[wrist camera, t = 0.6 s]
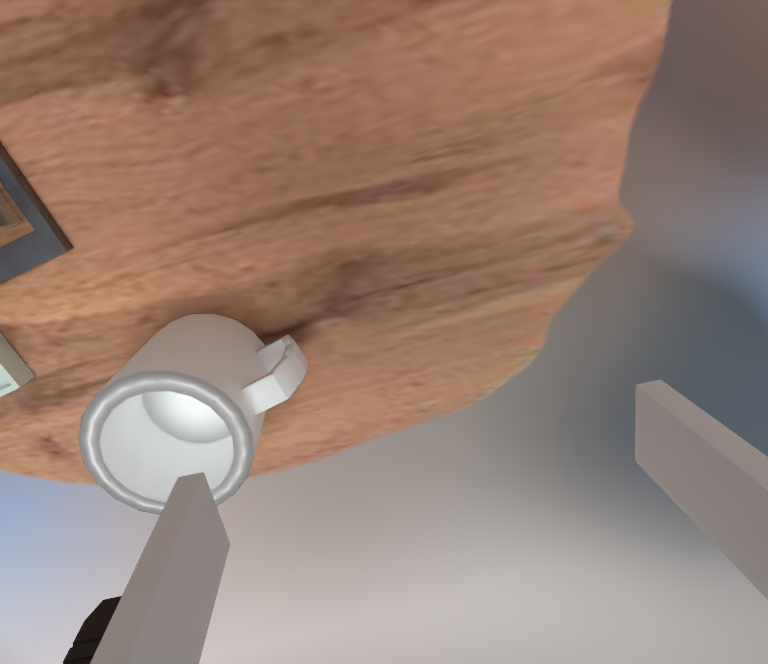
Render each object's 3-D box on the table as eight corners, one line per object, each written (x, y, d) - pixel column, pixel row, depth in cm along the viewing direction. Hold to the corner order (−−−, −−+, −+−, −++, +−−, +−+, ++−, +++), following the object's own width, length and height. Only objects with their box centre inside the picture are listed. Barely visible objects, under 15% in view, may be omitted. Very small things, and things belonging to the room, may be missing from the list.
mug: (268, 270, 38) (243, 313, 28) (333, 378, 41) (332, 450, 31) (116, 350, 39) (40, 419, 29) (191, 448, 42) (147, 540, 33)
